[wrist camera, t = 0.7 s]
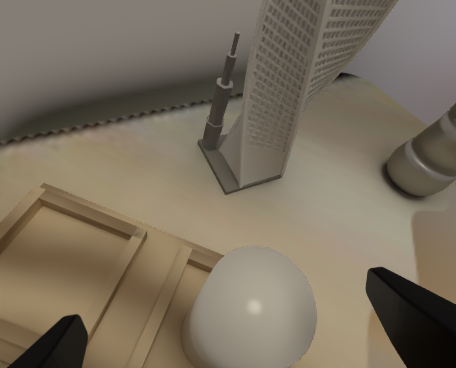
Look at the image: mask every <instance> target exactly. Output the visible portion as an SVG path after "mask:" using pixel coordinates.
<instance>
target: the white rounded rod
mask: <svg viewBox="0 0 456 368" xmlns="http://www.w3.org/2000/svg"><path fill="white" fill-rule="evenodd" d="M316 323H317V311H316V303H315V299H314V295H313V292H312V289H311V287H310V285H309V283H308V281H307V279H306V277H305V276H304V274H303V273H302V271H301V270H300V269H299V268H298V267H297V266H296V265H295V264H294V263H293V262H292V261H291V260H290V259H289V258H287V257H286V256H284V255H283V254H281V253H279V252H277V251H275V250H273V249H270V248H267V247H262V246H246V247H241V248H238V249H235V250H233V251H231V252H229V253H228V254H226V255H225V256H224V257H223V258H222V259H220V260H219V261H218V263H217V264H216V265H215V266H214V268H213V269H212V271H211V273H210V275H209V276H208V278H207V280H206V281H205V283H204V285H203V287H202V288H201V290H200V292H199V294H198V295H197V297H196V299H195V301H194V302H193V304H192V306H191V308H190V309H189V311H188V313H187V315H186V317H185V319H184V321H183V324H182V329H181V342H182V347H183V351H184V353H185V355H186V357H187V359H188V360H189V362H190V363H191V364H192V365H193V366H194V367H195V368H288V367H290V366H292V365H293V364H295V363H296V362H297V361H298V360H300V359H301V357H302V356H303V355H304V354H305V353H306V351H307V350H308V348H309V347H310V344H311V342H312V340H313V337H314V334H315V329H316Z"/></svg>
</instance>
